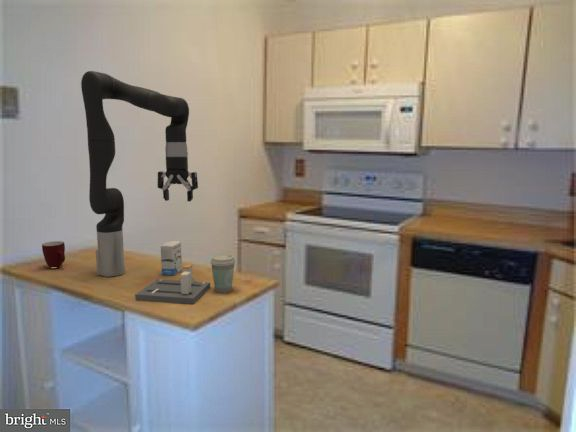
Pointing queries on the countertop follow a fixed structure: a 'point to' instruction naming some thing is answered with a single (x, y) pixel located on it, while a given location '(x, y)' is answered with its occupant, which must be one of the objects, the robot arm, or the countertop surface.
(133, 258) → the countertop surface
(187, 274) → the fader
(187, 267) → the fader
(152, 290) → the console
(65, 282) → the countertop surface
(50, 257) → the mug
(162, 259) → the ink box
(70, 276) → the countertop surface
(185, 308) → the countertop surface
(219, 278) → the coffee cup
